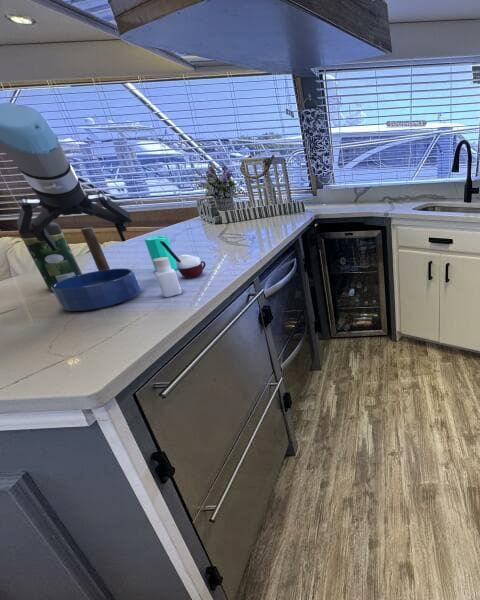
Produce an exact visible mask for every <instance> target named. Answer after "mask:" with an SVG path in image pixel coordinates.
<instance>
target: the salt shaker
mask: <svg viewBox="0 0 480 600" xmlns="http://www.w3.org/2000/svg"><path fill="white" fill-rule="evenodd" d="M153 263H154V265H153V267H154V266H155V268H156V270H157V272H156V270H155V272H154V274H155V278H156V281H157V282H158V286H159V288H160V291H161V294H162V296H163V297H164V298H169V297H173V296H178V295H181V294H182V293H183V290H182V287H181V285H180V282H179V278H178V275H177V273H176V270H174V269H171V266H170V262H169V259H168V258H167V257H162V258H156V259H154V260H153V262H152V264H153ZM155 268H154V269H155Z"/></svg>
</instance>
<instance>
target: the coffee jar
mask: <svg viewBox="0 0 480 600" xmlns="http://www.w3.org/2000/svg"><path fill="white" fill-rule="evenodd" d="M45 229H46V231H47V232H48V233H49V235H50V236H51V237H52V239H53V240H54V241H55V245H56V248H57V251H53V250H52V249H51V248H50V247H49V245H48V244H47V243H46V241H42V242H40V241H38V239H37V238H36V237H35V236H34V235H33V234H32V233H27V234H19V235H20V238H21V240H22V241H23V243H24V245H25V247H26V250H27V251H28V253H29V256H30V257H31V259H32V260H33V263H34V264H35V266H36V268H37V270H38V271H39V273H40V275H41V277H42V279H43V281H44V283H45V285H46V287H47V288H48V290H49V291H52V292H53V290H52V288H51V286H52V285H53V284H54V283H56V282H58V281H61V280H63V279H66V278H69V277H73V276H76V275H80V274H83V272H82V271H81V268H80V267H79V264H78V262H77V260H76V258H75V256H74V254H73V252H72V250H71V247H70V245H69V243H68V241H67V239H66V237H65V235H64V232H63V230H62V228H61V227H60V225H59V224H58V223H57V222H55V221H52V222H51V223H50V224H49V225H48V226H47V227H46V228H45Z"/></svg>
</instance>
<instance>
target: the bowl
mask: <svg viewBox="0 0 480 600" xmlns="http://www.w3.org/2000/svg"><path fill="white" fill-rule="evenodd" d="M51 288H52V290H53V291H52V290H51V291H52V292H53V294H54V297H55V298H56V300H57V303H58V304H59V307H60V308H61V309H62V310H64V311H68V312H78V311H81V312H82V311H94V310H97V309H98V310H99V309H103V308H108V307H111V306H114V305H118V304H120V303H124V302H125V301H128V300H130V299H132V298H133V297H136V296H137V295H139V294H140V293H141V287H140V285H139V282H138V279H137V277H136V274H135V271H134V269H131V268H123V267H121V268H110V269H108V270H100V271H99V270H94V271H90V272H85V273H82V274H80V275H76V276H73V277H69V278H66V279H63V280H61V281H58V282H56V283H54V284H53V285H52V286H51Z"/></svg>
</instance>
